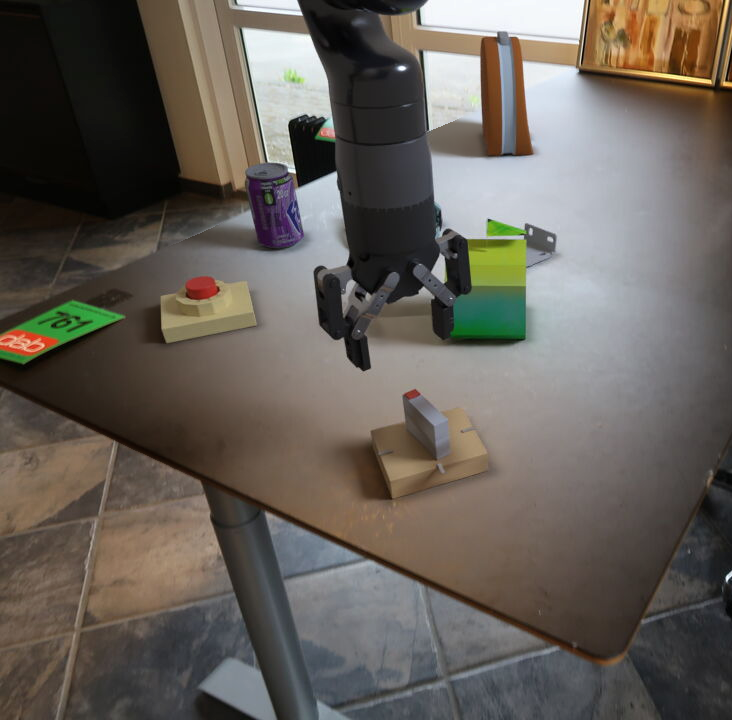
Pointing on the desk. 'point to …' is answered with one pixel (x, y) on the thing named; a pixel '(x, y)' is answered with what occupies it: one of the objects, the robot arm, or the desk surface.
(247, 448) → the desk surface
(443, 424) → the upright gray plate
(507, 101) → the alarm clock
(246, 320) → the box
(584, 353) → the desk surface
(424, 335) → the desk surface
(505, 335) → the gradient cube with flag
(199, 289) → the release button
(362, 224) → the robot arm
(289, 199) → the beverage can
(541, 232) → the bracket
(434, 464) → the block
